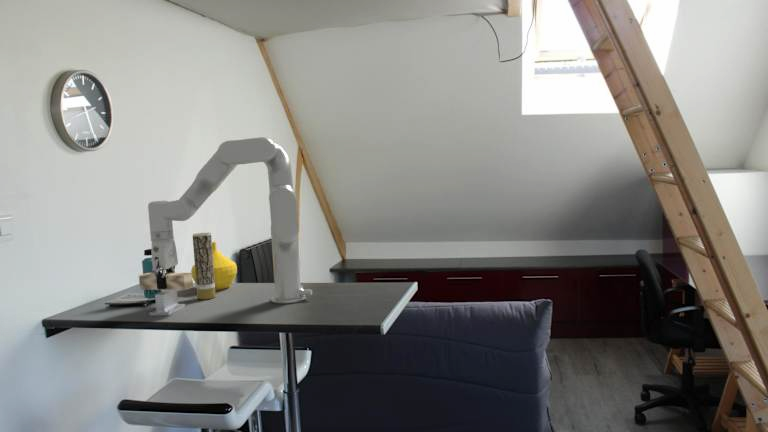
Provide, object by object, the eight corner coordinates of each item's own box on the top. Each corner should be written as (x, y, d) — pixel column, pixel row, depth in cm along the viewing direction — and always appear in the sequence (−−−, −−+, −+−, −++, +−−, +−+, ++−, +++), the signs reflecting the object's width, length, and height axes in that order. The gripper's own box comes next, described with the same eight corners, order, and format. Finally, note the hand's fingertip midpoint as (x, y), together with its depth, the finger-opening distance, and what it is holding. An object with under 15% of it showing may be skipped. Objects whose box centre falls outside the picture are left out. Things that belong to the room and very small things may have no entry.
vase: (182, 292, 239) (179, 245, 238) (212, 282, 256) (209, 239, 254) (219, 294, 232) (215, 246, 230) (247, 284, 249) (244, 239, 247)
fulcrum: (184, 306, 213) (183, 287, 213) (168, 315, 201) (167, 295, 201) (166, 306, 214) (165, 287, 214) (149, 315, 202) (148, 295, 202)
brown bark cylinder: (210, 300, 222) (205, 234, 220) (193, 300, 223) (189, 235, 221) (218, 296, 228) (214, 232, 226) (202, 296, 230) (198, 232, 228)
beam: (193, 286, 207) (192, 272, 207) (184, 289, 202) (183, 275, 202) (149, 286, 212) (147, 272, 211) (140, 289, 207) (138, 275, 207)
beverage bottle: (143, 303, 221) (139, 251, 220) (145, 299, 228) (141, 248, 226) (161, 301, 223) (157, 249, 221) (163, 298, 229) (159, 247, 228)
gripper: (159, 239, 196) (164, 292, 198) (183, 232, 213) (187, 281, 215) (138, 239, 197) (143, 292, 199) (164, 233, 214) (168, 282, 216)
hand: (166, 286), depth 207 cm, fingers closed on beam, 5 cm apart
